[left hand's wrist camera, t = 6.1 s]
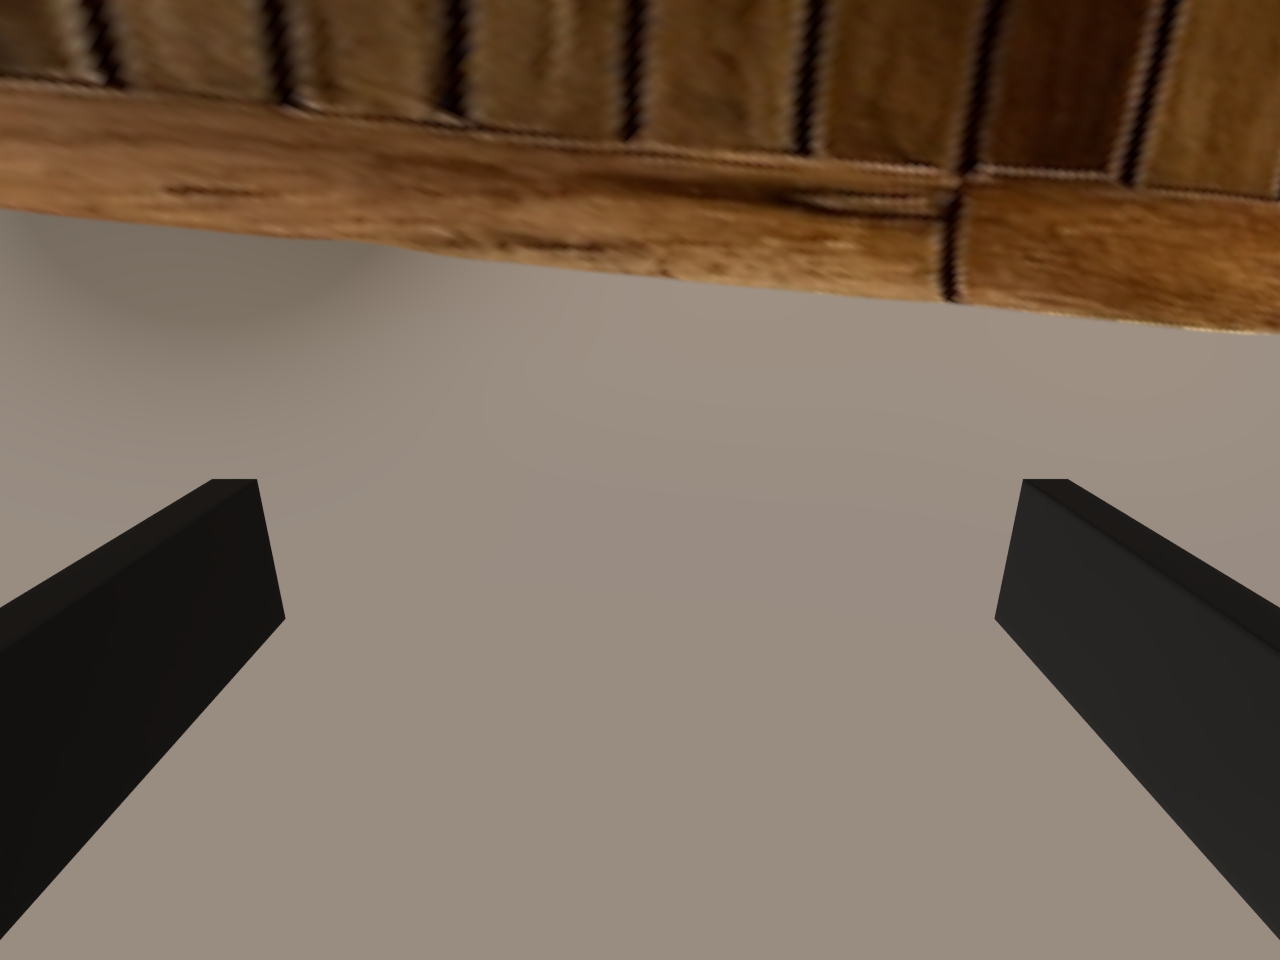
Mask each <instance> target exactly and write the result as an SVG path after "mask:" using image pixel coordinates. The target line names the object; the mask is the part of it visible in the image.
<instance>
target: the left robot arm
mask: <svg viewBox="0 0 1280 960" xmlns="http://www.w3.org/2000/svg"><path fill="white" fill-rule="evenodd" d="M284 620H285V614H284V609H283V604H282V599H281V594H280V590H279V585H278V580H277V575H276V570H275V565H274V560H273V555H272V551H271V546H270V541H269V536H268V531H267V526H266V521H265V516H264V511H263V507H262V502H261V497H260V492H259V487H258V482H257V479H212V480H210V481H208V482H207V483H205V484H203V485H202V486H200V487H198V488H197V489H195V490H193V491H192V492H190V493H188V494H187V495H185V496H183V497H182V498H180V499H179V500H177V501H175V502H174V503H172V504H170V505H169V506H167V507H165V508H164V509H162V510H160V511H159V512H157V513H155V514H154V515H152V516H151V517H149V518H147V519H146V520H144V521H142V522H141V523H139V524H137V525H136V526H134V527H132V528H131V529H129V530H128V531H126V532H124V533H123V534H121V535H119V536H118V537H116V538H114V539H113V540H111V541H109V542H108V543H106V544H104V545H103V546H101V547H99V548H98V549H96V550H95V551H93V552H91V553H90V554H88V555H86V556H85V557H83V558H81V559H80V560H78V561H76V562H75V563H73V564H71V565H70V566H68V567H66V568H65V569H63V570H62V571H60V572H58V573H57V574H55V575H53V576H52V577H50V578H48V579H47V580H45V581H43V582H42V583H40V584H38V585H37V586H35V587H34V588H32V589H30V590H29V591H27V592H25V593H24V594H22V595H20V596H19V597H17V598H15V599H14V600H12V601H10V602H9V603H7V604H6V605H4V606H2V607H1V608H0V940H1V938H2V937H3V936H4V935H5V934H6V933H7V932H8V931H9V929H10V928H11V927H12V926H13V925H14V924H15V923H16V921H17V920H18V919H19V918H20V917H21V916H22V915H23V914H24V913H25V911H26V910H27V909H28V908H29V907H30V906H31V905H32V903H33V902H34V901H35V900H36V899H37V898H38V897H39V896H40V894H41V893H42V892H43V891H44V890H45V889H46V888H47V887H48V886H49V884H50V883H51V882H52V881H53V880H54V879H55V878H56V876H57V875H58V874H59V873H60V872H61V871H62V870H63V869H64V868H65V866H66V865H67V864H68V863H69V862H70V861H71V860H72V858H73V857H74V856H75V855H76V854H77V853H78V852H79V851H80V849H81V848H82V847H83V846H84V845H85V844H86V843H87V842H88V840H89V839H90V838H91V837H92V836H93V835H94V834H95V833H96V831H97V830H98V829H99V828H100V827H101V826H102V825H103V824H104V822H105V821H106V820H107V819H108V818H109V817H110V816H111V814H112V813H113V812H114V811H115V810H116V809H117V808H118V807H119V806H120V804H121V803H122V802H123V801H124V800H125V799H126V798H127V797H128V795H129V794H130V793H131V792H132V791H133V790H134V789H135V788H136V786H137V785H138V784H139V783H140V782H141V781H142V780H143V779H144V777H145V776H146V775H147V774H148V773H149V772H150V771H151V770H152V768H153V767H154V766H155V765H156V764H157V763H158V762H159V761H160V759H161V758H162V757H163V756H164V755H165V754H166V753H167V752H168V750H169V749H170V748H171V747H172V746H173V745H174V744H175V743H176V741H177V740H178V739H179V738H180V737H181V736H182V735H183V734H184V732H185V731H186V730H187V729H188V728H189V727H190V726H191V724H192V723H193V722H194V721H195V720H196V719H197V718H198V717H199V715H200V714H201V713H202V712H203V711H204V710H205V709H206V708H207V706H208V705H209V704H210V703H211V702H212V701H213V700H214V699H215V697H216V696H217V695H218V694H219V693H220V692H221V691H222V690H223V688H224V687H225V686H226V685H227V684H228V683H229V682H230V681H231V679H232V678H233V677H234V676H235V675H236V674H237V673H238V672H239V670H240V669H241V668H242V667H243V666H244V665H245V664H246V663H247V661H248V660H249V659H250V658H251V657H252V656H253V655H254V654H255V652H256V651H257V650H258V649H259V648H260V647H261V646H262V645H263V643H264V642H265V641H266V640H267V639H268V638H269V637H270V636H271V634H272V633H273V632H274V631H275V630H276V629H277V628H278V627H279V625H280V624H281V623H282V622H283V621H284ZM995 620H996V621H997V622H998V623H999V624H1000V625H1001V627H1002V628H1003V629H1004V630H1005V631H1006V632H1007V633H1008V634H1009V636H1010V637H1011V638H1012V639H1013V640H1014V641H1015V642H1016V643H1017V645H1018V646H1019V647H1020V648H1021V649H1022V650H1023V651H1024V652H1025V654H1026V655H1027V656H1028V657H1029V658H1030V659H1031V660H1032V661H1033V663H1034V664H1035V665H1036V666H1037V667H1038V668H1039V669H1040V670H1041V672H1042V673H1043V674H1044V675H1045V676H1046V677H1047V678H1048V679H1049V681H1050V682H1051V683H1052V684H1053V685H1054V686H1055V687H1056V688H1057V690H1058V691H1059V692H1060V693H1061V694H1062V695H1063V696H1064V697H1065V699H1066V700H1067V701H1068V702H1069V703H1070V704H1071V705H1072V706H1073V708H1074V709H1075V710H1076V711H1077V712H1078V713H1079V714H1080V716H1081V717H1082V718H1083V719H1084V720H1085V721H1086V722H1087V723H1088V725H1089V726H1090V727H1091V728H1092V729H1093V730H1094V731H1095V732H1096V734H1097V735H1098V736H1099V737H1100V738H1101V739H1102V740H1103V741H1104V742H1105V744H1106V745H1107V746H1108V747H1109V748H1110V749H1111V750H1112V752H1113V753H1114V754H1115V755H1116V756H1117V757H1118V758H1119V759H1120V760H1121V762H1122V763H1123V764H1124V765H1125V766H1126V767H1127V768H1128V770H1129V771H1130V772H1131V773H1132V774H1133V775H1134V776H1135V777H1136V779H1137V780H1138V781H1139V782H1140V783H1141V784H1142V785H1143V786H1144V787H1145V789H1146V790H1147V791H1148V792H1149V793H1150V794H1151V795H1152V797H1153V798H1154V799H1155V800H1156V801H1157V802H1158V803H1159V804H1160V806H1161V807H1162V808H1163V809H1164V810H1165V811H1166V812H1167V813H1168V815H1169V816H1170V817H1171V818H1172V819H1173V820H1174V821H1175V822H1176V824H1177V825H1178V826H1179V827H1180V828H1181V829H1182V830H1183V831H1184V833H1185V834H1186V835H1187V836H1188V837H1189V838H1190V839H1191V840H1192V842H1193V843H1194V844H1195V845H1196V846H1197V847H1198V848H1199V849H1200V851H1201V852H1202V853H1203V854H1204V855H1205V856H1206V857H1207V859H1208V860H1209V861H1210V862H1211V863H1212V864H1213V865H1214V866H1215V867H1216V869H1217V870H1218V871H1219V872H1220V873H1221V874H1222V875H1223V876H1224V878H1225V879H1226V880H1227V881H1228V882H1229V883H1230V884H1231V886H1232V887H1233V888H1234V889H1235V890H1236V891H1237V892H1238V893H1239V895H1240V896H1241V897H1242V898H1243V899H1244V900H1245V901H1246V902H1247V904H1248V905H1249V906H1250V907H1251V908H1252V909H1253V910H1254V911H1255V913H1256V914H1257V915H1258V916H1259V917H1260V918H1261V919H1262V920H1263V922H1264V923H1265V924H1266V925H1267V926H1268V927H1269V928H1270V929H1271V931H1272V932H1273V933H1274V934H1275V935H1276V936H1277V937H1278V938H1279V940H1280V608H1279V607H1278V606H1276V605H1274V604H1273V603H1271V602H1270V601H1268V600H1266V599H1265V598H1263V597H1261V596H1260V595H1258V594H1256V593H1255V592H1253V591H1251V590H1250V589H1248V588H1246V587H1245V586H1243V585H1242V584H1240V583H1238V582H1237V581H1235V580H1233V579H1232V578H1230V577H1228V576H1227V575H1225V574H1223V573H1222V572H1220V571H1218V570H1217V569H1215V568H1214V567H1212V566H1210V565H1209V564H1207V563H1205V562H1204V561H1202V560H1200V559H1199V558H1197V557H1195V556H1194V555H1192V554H1190V553H1189V552H1187V551H1185V550H1184V549H1182V548H1181V547H1179V546H1177V545H1176V544H1174V543H1172V542H1171V541H1169V540H1167V539H1166V538H1164V537H1162V536H1161V535H1159V534H1157V533H1156V532H1154V531H1153V530H1151V529H1149V528H1148V527H1146V526H1144V525H1143V524H1141V523H1139V522H1138V521H1136V520H1134V519H1133V518H1131V517H1129V516H1128V515H1126V514H1125V513H1123V512H1121V511H1120V510H1118V509H1116V508H1115V507H1113V506H1111V505H1110V504H1108V503H1106V502H1105V501H1103V500H1101V499H1100V498H1098V497H1097V496H1095V495H1093V494H1092V493H1090V492H1088V491H1087V490H1085V489H1083V488H1082V487H1080V486H1078V485H1077V484H1075V483H1073V482H1072V481H1070V480H1068V479H1023V482H1022V487H1021V492H1020V497H1019V502H1018V507H1017V511H1016V516H1015V521H1014V526H1013V531H1012V536H1011V541H1010V546H1009V550H1008V555H1007V560H1006V565H1005V570H1004V575H1003V580H1002V585H1001V590H1000V594H999V599H998V605H997V609H996V614H995Z"/></svg>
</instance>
